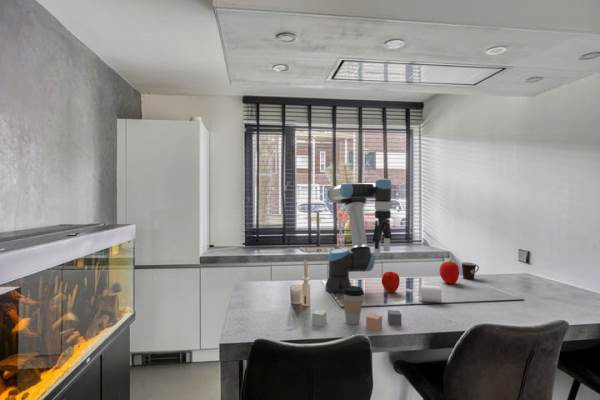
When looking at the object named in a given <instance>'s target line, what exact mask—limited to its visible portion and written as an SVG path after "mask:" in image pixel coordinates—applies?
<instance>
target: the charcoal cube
mask: <svg viewBox="0 0 600 400" xmlns="http://www.w3.org/2000/svg"><path fill="white" fill-rule="evenodd" d="M387 323H388V326H395V327H401V326H402V313H401V311H400V310H397V309H395V310H393V309H387Z"/></svg>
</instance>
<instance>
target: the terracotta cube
mask: <svg viewBox="0 0 600 400" xmlns="http://www.w3.org/2000/svg"><path fill="white" fill-rule="evenodd" d="M365 321H366V322H365V329H368V330H372V331H375V332H378V331H379V330H380V329H382V328H383V315H380V314H376V313H369V314H368V315H367V316H365Z"/></svg>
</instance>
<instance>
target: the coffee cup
mask: <svg viewBox="0 0 600 400" xmlns="http://www.w3.org/2000/svg"><path fill="white" fill-rule="evenodd" d="M341 294H343V308H344V309H343V310H344V314H345V318H344V319H345V323H346V324H348V325H352V326H357V325H359V324H360V320H361V319H360V318H361V311H362V305H363V295H364V294H365V291H364V290H363V288H362V287H360V286H357V285H351V286H346V287H344V290H343V292H342V293H341Z"/></svg>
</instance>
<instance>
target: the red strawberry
mask: <svg viewBox="0 0 600 400" xmlns="http://www.w3.org/2000/svg"><path fill="white" fill-rule="evenodd" d="M439 275H440V278H441V279H442V281H443V282H445V283H446V284H449V285H454V284H456V283H457V282H458V280H459V276H460V269H459V265H458V264H457V263H456V262H454V261H451V260H449V261H444V262H442V263H441V265H440V266H439Z"/></svg>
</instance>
